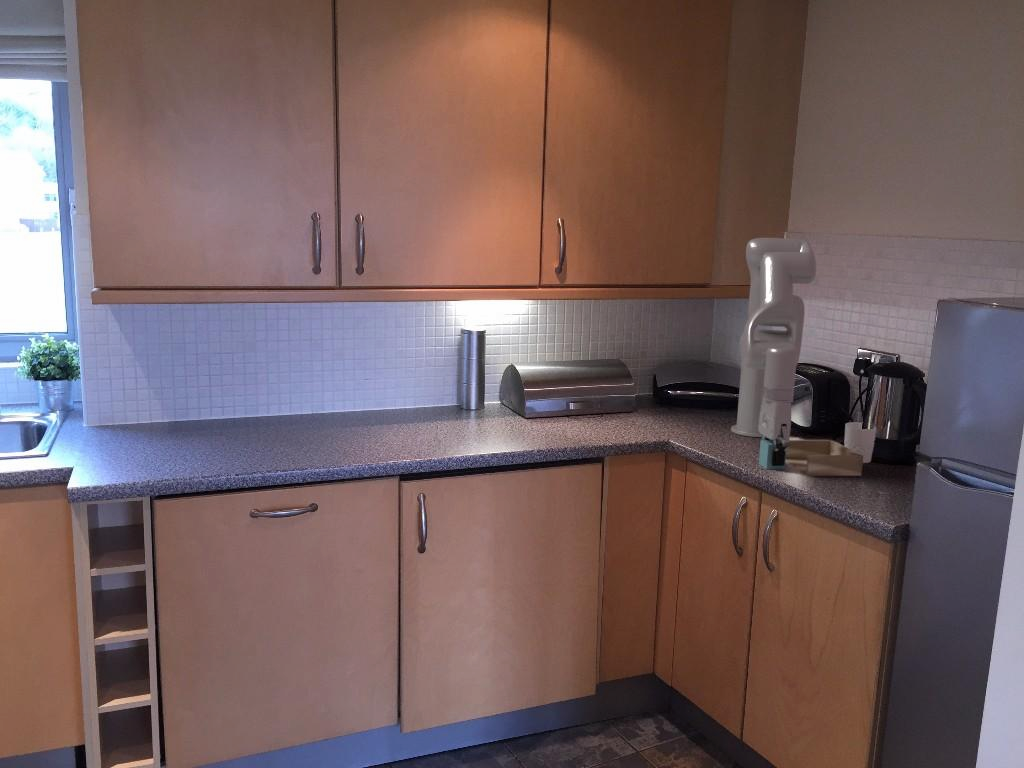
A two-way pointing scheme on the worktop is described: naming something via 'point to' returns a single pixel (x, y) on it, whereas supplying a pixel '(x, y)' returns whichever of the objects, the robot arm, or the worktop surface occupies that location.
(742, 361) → the robot arm
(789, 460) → the birch box
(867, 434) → the white cup
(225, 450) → the worktop surface
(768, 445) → the teal block
